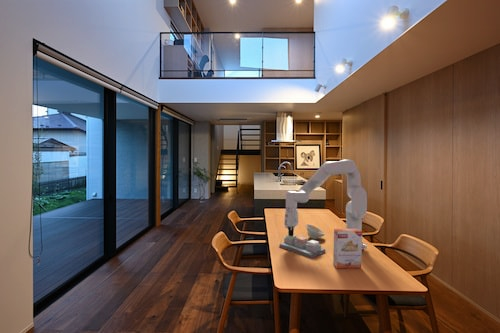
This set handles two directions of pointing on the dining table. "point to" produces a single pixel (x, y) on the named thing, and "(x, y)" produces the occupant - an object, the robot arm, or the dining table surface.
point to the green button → (291, 237)
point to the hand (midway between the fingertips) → (290, 235)
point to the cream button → (313, 243)
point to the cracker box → (347, 248)
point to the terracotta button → (301, 239)
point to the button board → (302, 248)
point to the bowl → (314, 232)
